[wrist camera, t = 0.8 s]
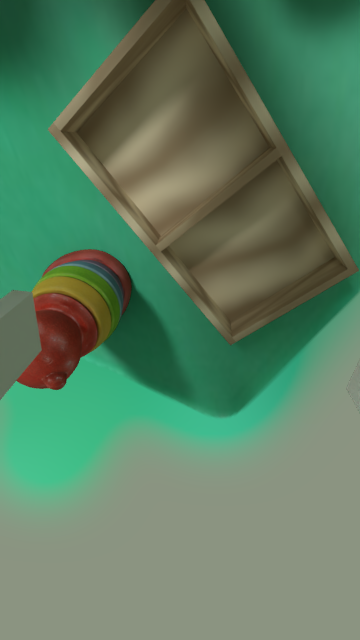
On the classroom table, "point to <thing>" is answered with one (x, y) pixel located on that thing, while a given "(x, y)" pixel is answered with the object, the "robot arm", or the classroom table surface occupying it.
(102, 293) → the stacking bear
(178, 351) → the classroom table surface
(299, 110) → the classroom table surface
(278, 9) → the classroom table surface
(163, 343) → the classroom table surface
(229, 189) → the divided wooden tray
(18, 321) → the robot arm
